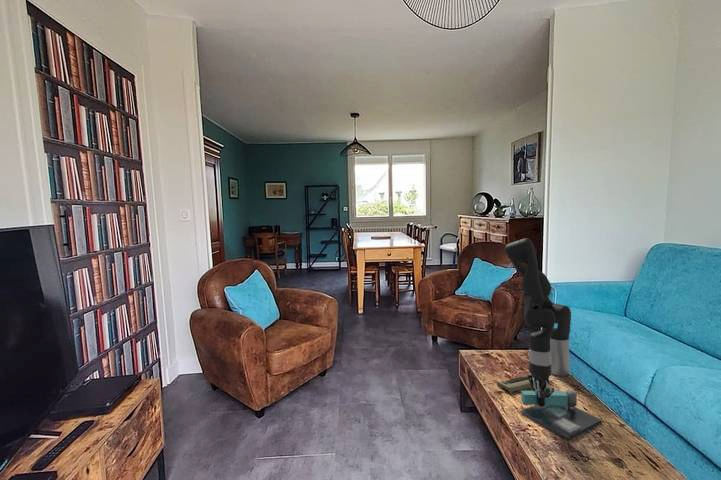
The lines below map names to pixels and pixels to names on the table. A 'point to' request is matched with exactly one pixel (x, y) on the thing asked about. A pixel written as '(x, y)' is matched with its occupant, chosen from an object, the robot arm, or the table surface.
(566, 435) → the board
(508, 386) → the computer
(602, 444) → the table surface
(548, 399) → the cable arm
